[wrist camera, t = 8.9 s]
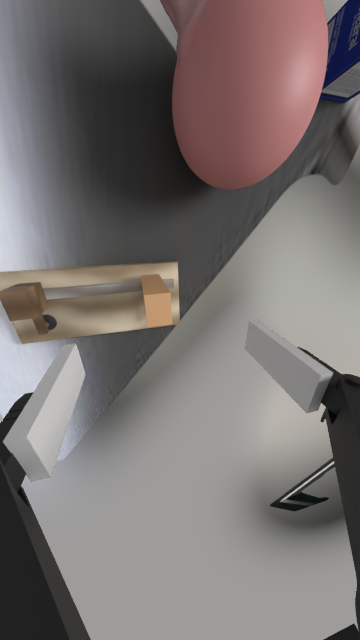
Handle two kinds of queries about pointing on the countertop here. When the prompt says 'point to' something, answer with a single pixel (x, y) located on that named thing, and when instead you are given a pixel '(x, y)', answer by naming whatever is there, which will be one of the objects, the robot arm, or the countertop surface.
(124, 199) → the countertop surface
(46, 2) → the countertop surface
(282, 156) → the balloon
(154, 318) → the orange wooden block
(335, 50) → the milk carton
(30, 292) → the wooden slotted board
